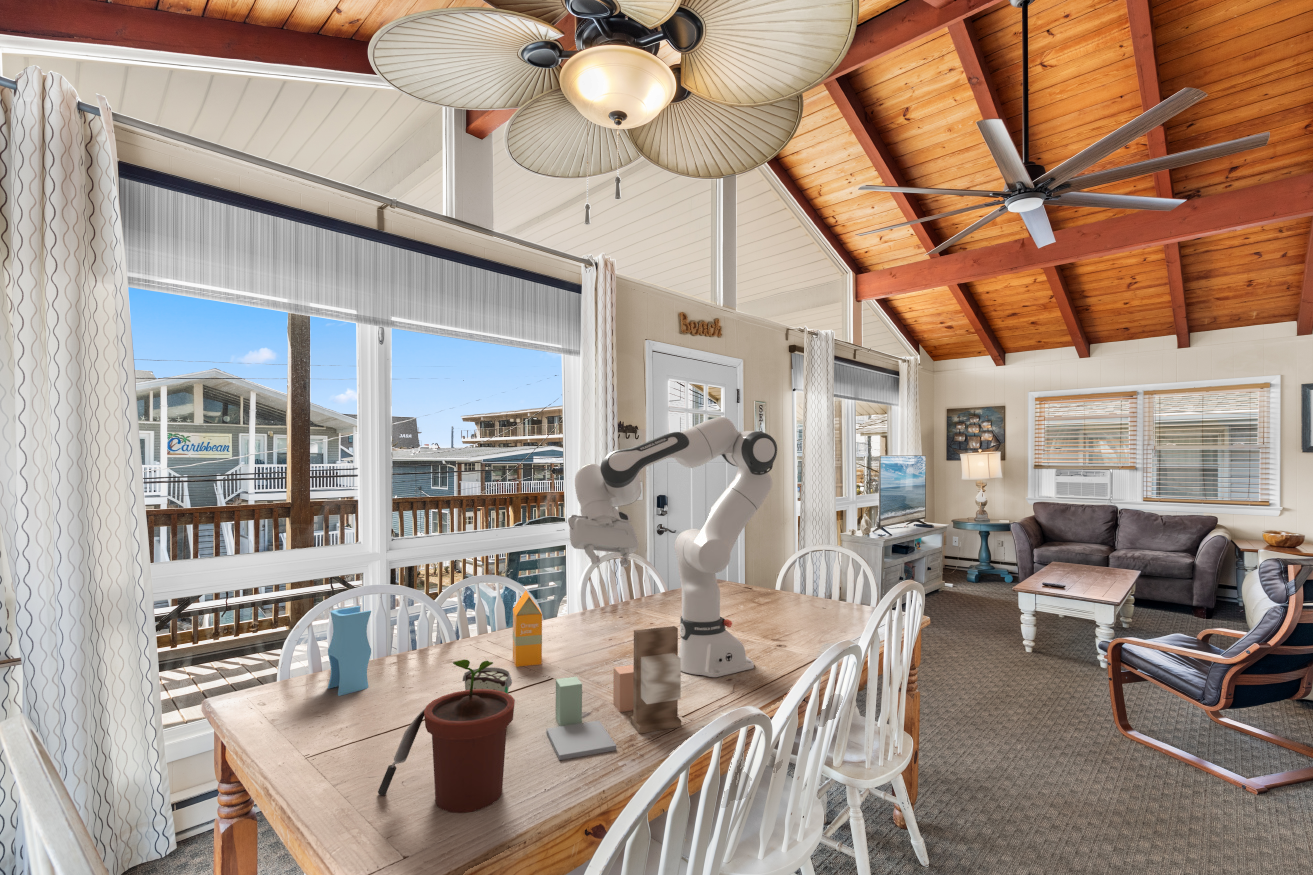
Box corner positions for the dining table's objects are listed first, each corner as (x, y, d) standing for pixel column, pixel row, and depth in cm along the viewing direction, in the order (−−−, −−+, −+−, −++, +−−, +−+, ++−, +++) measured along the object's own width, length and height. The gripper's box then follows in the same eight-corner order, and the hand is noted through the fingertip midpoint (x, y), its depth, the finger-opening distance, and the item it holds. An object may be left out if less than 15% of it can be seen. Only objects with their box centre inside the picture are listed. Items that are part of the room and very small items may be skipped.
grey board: (599, 724, 142) (599, 720, 142) (616, 750, 130) (616, 745, 130) (546, 732, 137) (546, 728, 137) (559, 760, 125) (559, 755, 125)
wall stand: (670, 715, 146) (671, 623, 147) (684, 730, 139) (684, 632, 139) (630, 722, 143) (630, 627, 143) (642, 737, 135) (642, 637, 136)
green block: (576, 714, 147) (576, 676, 147) (581, 723, 142) (582, 683, 142) (555, 718, 145) (555, 679, 145) (560, 726, 140) (560, 686, 141)
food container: (521, 712, 148) (522, 670, 148) (507, 723, 142) (507, 678, 142) (477, 705, 152) (478, 664, 152) (461, 715, 146) (462, 672, 147)
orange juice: (538, 654, 190) (538, 588, 191) (542, 664, 182) (542, 595, 182) (511, 657, 188) (512, 590, 188) (514, 666, 179) (515, 597, 180)
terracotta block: (632, 701, 155) (632, 664, 155) (639, 708, 150) (639, 671, 151) (613, 704, 153) (613, 667, 154) (619, 711, 149) (619, 673, 149)
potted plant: (454, 836, 100) (456, 679, 101) (376, 794, 112) (378, 654, 113) (533, 787, 115) (534, 650, 116) (457, 755, 127) (458, 631, 128)
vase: (370, 687, 163) (371, 610, 164) (338, 695, 158) (340, 616, 158) (358, 679, 169) (359, 605, 169) (327, 687, 163) (328, 610, 163)
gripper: (573, 507, 160) (584, 555, 152) (634, 516, 173) (647, 561, 165) (560, 520, 163) (570, 567, 156) (621, 528, 177) (633, 572, 169)
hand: (611, 564), depth 161 cm, fingers open, 8 cm apart
